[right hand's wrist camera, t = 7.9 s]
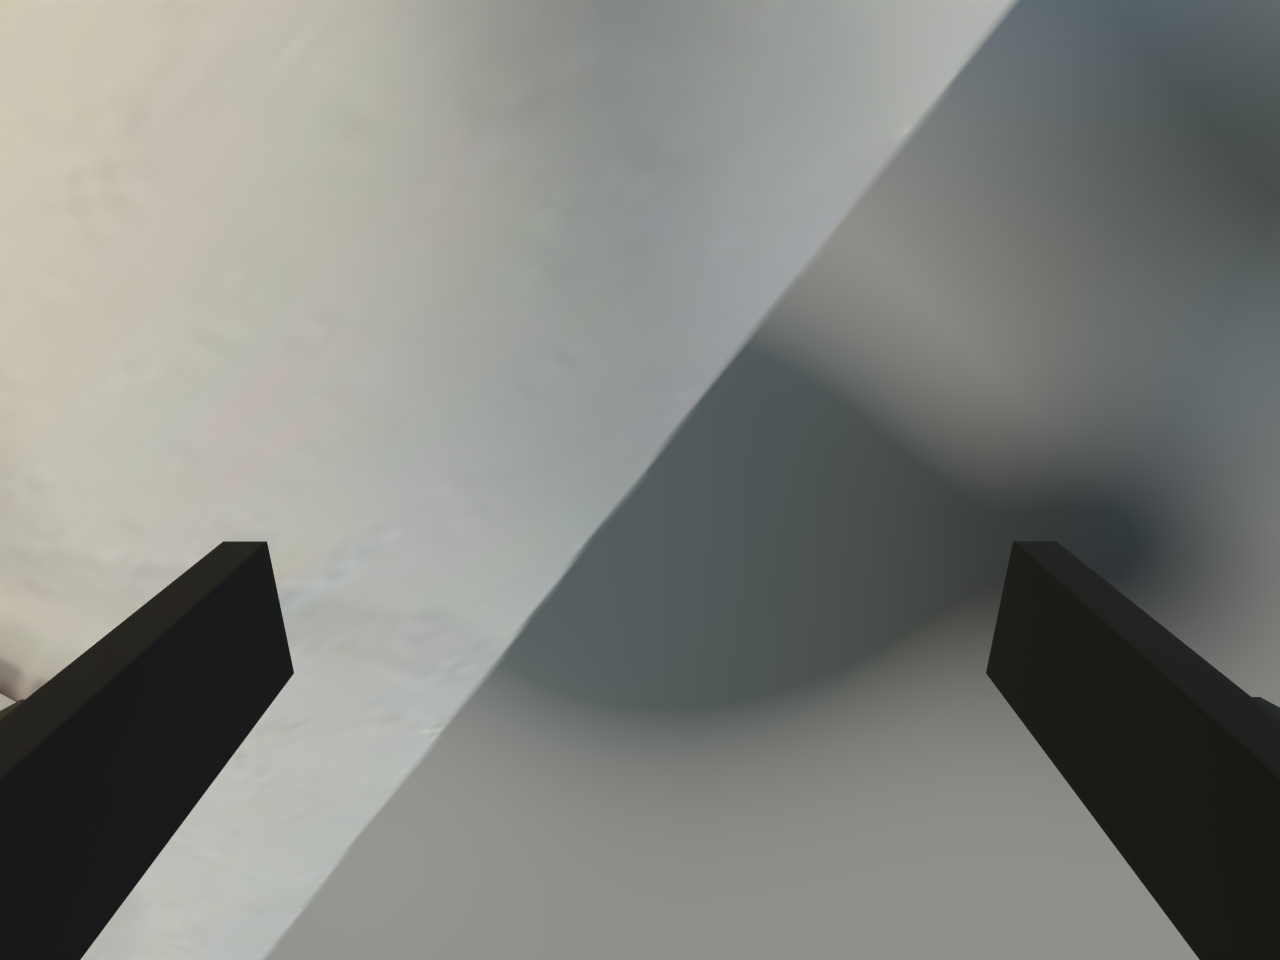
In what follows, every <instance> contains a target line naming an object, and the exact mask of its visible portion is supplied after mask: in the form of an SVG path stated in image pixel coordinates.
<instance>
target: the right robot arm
mask: <svg viewBox="0 0 1280 960" xmlns="http://www.w3.org/2000/svg"><path fill="white" fill-rule="evenodd" d="M293 674H294V671H293V666H292V661H291V656H290V652H289V647H288V642H287V637H286V632H285V627H284V622H283V617H282V613H281V608H280V603H279V598H278V593H277V588H276V583H275V579H274V574H273V569H272V564H271V559H270V554H269V549H268V545H267V542H222V543H221V544H220V545H218V546H217V547H216V548H215V549H213V550H212V551H211V552H210V553H208V554H207V555H206V556H205V557H203V558H202V559H201V560H200V561H198V562H197V563H196V564H195V565H193V566H192V567H191V568H190V569H188V570H187V571H186V572H185V573H183V574H182V575H181V576H180V577H178V578H177V579H176V580H175V581H173V582H172V583H171V584H170V585H168V586H167V587H166V588H165V589H163V590H162V591H161V592H160V593H158V594H157V595H156V596H155V597H153V598H152V599H151V600H150V601H148V602H147V603H146V604H145V605H143V606H142V607H141V608H140V609H138V610H137V611H136V612H135V613H133V614H132V615H131V616H130V617H128V618H127V619H126V620H125V621H123V622H122V623H121V624H120V625H118V626H117V627H116V628H115V629H113V630H112V631H111V632H110V633H108V634H107V635H106V636H105V637H103V638H102V639H101V640H100V641H98V642H97V643H96V644H95V645H93V646H92V647H91V648H90V649H88V650H87V651H86V652H85V653H83V654H82V655H81V656H80V657H78V658H77V659H76V660H75V661H73V662H72V663H71V664H70V665H68V666H67V667H66V668H65V669H63V670H62V671H61V672H60V673H58V674H57V675H56V676H55V677H53V678H52V679H51V680H50V681H48V682H47V683H46V684H45V685H43V686H42V687H41V688H40V689H38V690H37V691H36V692H35V693H33V694H32V695H31V696H30V697H28V698H27V699H26V700H19V701H18V702H16V703H14V704H12V705H10V706H8V707H6V708H4V709H3V710H1V711H0V960H80V959H81V958H82V957H83V955H84V954H85V953H86V951H87V950H88V949H89V947H90V946H91V945H92V943H93V942H94V941H95V939H96V938H97V937H98V935H99V934H100V933H101V931H102V930H103V929H104V927H105V926H106V925H107V923H108V922H109V921H110V919H111V918H112V916H113V915H114V914H115V912H116V911H117V910H118V908H119V907H120V906H121V904H122V903H123V902H124V900H125V899H126V898H127V896H128V895H129V894H130V892H131V891H132V890H133V888H134V887H135V886H136V884H137V883H138V882H139V880H140V879H141V878H142V876H143V875H144V874H145V872H146V871H147V870H148V868H149V867H150V865H151V864H152V863H153V861H154V860H155V859H156V857H157V856H158V855H159V853H160V852H161V851H162V849H163V848H164V847H165V845H166V844H167V843H168V841H169V840H170V839H171V837H172V836H173V835H174V833H175V832H176V831H177V829H178V828H179V827H180V825H181V824H182V823H183V821H184V820H185V819H186V817H187V816H188V814H189V813H190V812H191V810H192V809H193V808H194V806H195V805H196V804H197V802H198V801H199V800H200V798H201V797H202V796H203V794H204V793H205V792H206V790H207V789H208V788H209V786H210V785H211V784H212V782H213V781H214V780H215V778H216V777H217V776H218V774H219V773H220V772H221V770H222V769H223V768H224V766H225V765H226V764H227V762H228V761H229V759H230V758H231V757H232V755H233V754H234V753H235V751H236V750H237V749H238V747H239V746H240V745H241V743H242V742H243V741H244V739H245V738H246V737H247V735H248V734H249V733H250V731H251V730H252V729H253V727H254V726H255V725H256V723H257V722H258V721H259V719H260V718H261V717H262V715H263V714H264V713H265V711H266V710H267V708H268V707H269V706H270V704H271V703H272V702H273V700H274V699H275V698H276V696H277V695H278V694H279V692H280V691H281V690H282V688H283V687H284V686H285V684H286V683H287V682H288V680H289V679H290V678H291V676H292V675H293ZM986 674H987V675H988V676H989V678H990V679H991V680H992V682H993V683H994V684H995V686H996V687H997V688H998V690H999V691H1000V692H1001V694H1002V695H1003V696H1004V698H1005V699H1006V700H1007V702H1008V703H1009V704H1010V706H1011V707H1012V708H1013V710H1014V711H1015V713H1016V714H1017V715H1018V717H1019V718H1020V719H1021V721H1022V722H1023V723H1024V725H1025V726H1026V727H1027V729H1028V730H1029V731H1030V733H1031V734H1032V735H1033V737H1034V738H1035V739H1036V741H1037V742H1038V743H1039V745H1040V746H1041V747H1042V749H1043V750H1044V751H1045V753H1046V754H1047V755H1048V757H1049V758H1050V759H1051V761H1052V762H1053V763H1054V765H1055V766H1056V767H1057V769H1058V770H1059V772H1060V773H1061V774H1062V775H1063V777H1064V778H1065V780H1066V781H1067V782H1068V784H1069V785H1070V786H1071V788H1072V789H1073V790H1074V792H1075V793H1076V794H1077V796H1078V797H1079V798H1080V800H1081V801H1082V802H1083V804H1084V805H1085V806H1086V808H1087V809H1088V810H1089V812H1090V813H1091V815H1092V816H1093V817H1094V818H1095V820H1096V821H1097V823H1098V824H1099V825H1100V827H1101V828H1102V829H1103V831H1104V832H1105V833H1106V835H1107V836H1108V837H1109V839H1110V840H1111V841H1112V843H1113V844H1114V845H1115V847H1116V848H1117V849H1118V851H1119V852H1120V853H1121V855H1122V856H1123V857H1124V859H1125V860H1126V861H1127V863H1128V864H1129V865H1130V867H1131V868H1132V869H1133V871H1134V872H1135V874H1136V875H1137V876H1138V877H1139V879H1140V880H1141V882H1142V883H1143V884H1144V886H1145V887H1146V888H1147V890H1148V891H1149V892H1150V894H1151V895H1152V896H1153V898H1154V899H1155V900H1156V902H1157V903H1158V904H1159V906H1160V907H1161V908H1162V910H1163V911H1164V912H1165V914H1166V915H1167V916H1168V918H1169V919H1170V921H1171V922H1172V923H1173V925H1174V926H1175V927H1176V929H1177V930H1178V931H1179V933H1180V934H1181V935H1182V937H1183V938H1184V939H1185V941H1186V942H1187V943H1188V945H1189V946H1190V947H1191V949H1192V950H1193V951H1194V953H1195V954H1196V955H1197V957H1198V958H1199V959H1200V960H1280V708H1279V707H1278V706H1276V705H1274V704H1272V703H1270V702H1268V701H1266V700H1264V699H1262V698H1261V697H1250V696H1249V695H1248V694H1247V693H1245V692H1244V691H1243V690H1242V689H1240V688H1239V687H1238V686H1237V685H1235V684H1234V683H1233V682H1232V681H1230V680H1229V679H1228V678H1227V677H1225V676H1224V675H1223V674H1222V673H1220V672H1219V671H1218V670H1217V669H1215V668H1214V667H1213V666H1212V665H1210V664H1209V663H1208V662H1207V661H1205V660H1204V659H1203V658H1202V657H1200V656H1199V655H1198V654H1197V653H1195V652H1194V651H1193V650H1192V649H1190V648H1189V647H1188V646H1187V645H1185V644H1184V643H1183V642H1182V641H1180V640H1179V639H1178V638H1177V637H1175V636H1174V635H1173V634H1172V633H1170V632H1169V631H1168V630H1167V629H1165V628H1164V627H1163V626H1162V625H1160V624H1159V623H1158V622H1157V621H1155V620H1154V619H1153V618H1152V617H1150V616H1149V615H1148V614H1147V613H1145V612H1144V611H1143V610H1142V609H1140V608H1139V607H1138V606H1137V605H1135V604H1134V603H1133V602H1132V601H1130V600H1129V599H1128V598H1127V597H1125V596H1124V595H1123V594H1121V593H1120V592H1119V591H1118V590H1117V589H1115V588H1114V587H1113V586H1112V585H1110V584H1109V583H1108V582H1107V581H1105V580H1104V579H1103V578H1102V577H1100V576H1099V575H1098V574H1097V573H1095V572H1094V571H1093V570H1091V569H1090V568H1089V567H1088V566H1087V565H1085V564H1084V563H1083V562H1082V561H1080V560H1079V559H1078V558H1076V557H1075V556H1074V555H1073V554H1072V553H1070V552H1069V551H1068V550H1067V549H1065V548H1064V547H1063V546H1062V545H1060V544H1059V543H1058V542H1013V545H1012V550H1011V554H1010V559H1009V564H1008V569H1007V574H1006V579H1005V583H1004V589H1003V593H1002V598H1001V603H1000V608H999V613H998V617H997V622H996V627H995V632H994V637H993V642H992V647H991V651H990V656H989V661H988V666H987V671H986Z"/></svg>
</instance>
